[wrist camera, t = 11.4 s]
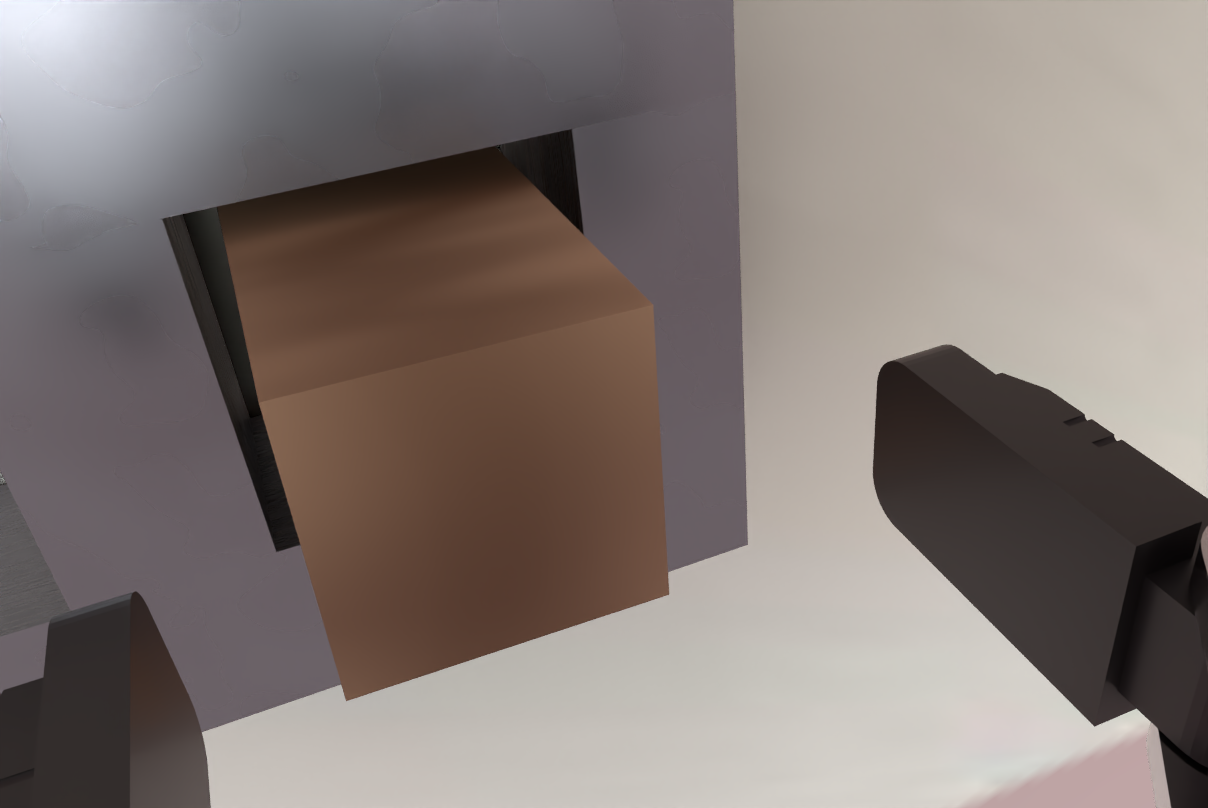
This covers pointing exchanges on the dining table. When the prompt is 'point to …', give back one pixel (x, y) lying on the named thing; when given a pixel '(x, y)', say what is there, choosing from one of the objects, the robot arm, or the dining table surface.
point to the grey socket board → (287, 162)
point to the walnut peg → (451, 411)
